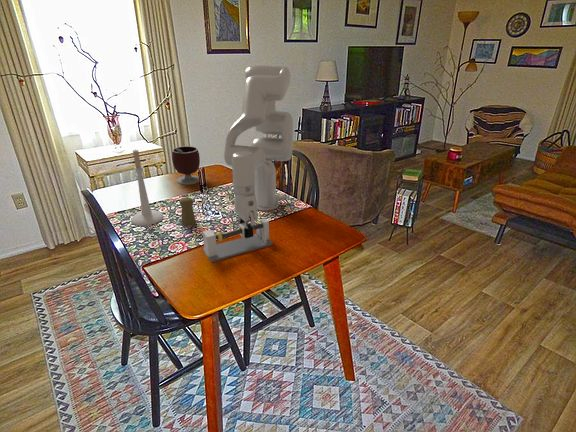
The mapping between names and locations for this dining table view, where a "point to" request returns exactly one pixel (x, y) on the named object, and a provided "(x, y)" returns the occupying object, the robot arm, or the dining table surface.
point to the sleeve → (242, 226)
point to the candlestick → (144, 200)
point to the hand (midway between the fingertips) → (246, 233)
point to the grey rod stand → (235, 242)
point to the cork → (187, 212)
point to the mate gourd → (186, 163)
